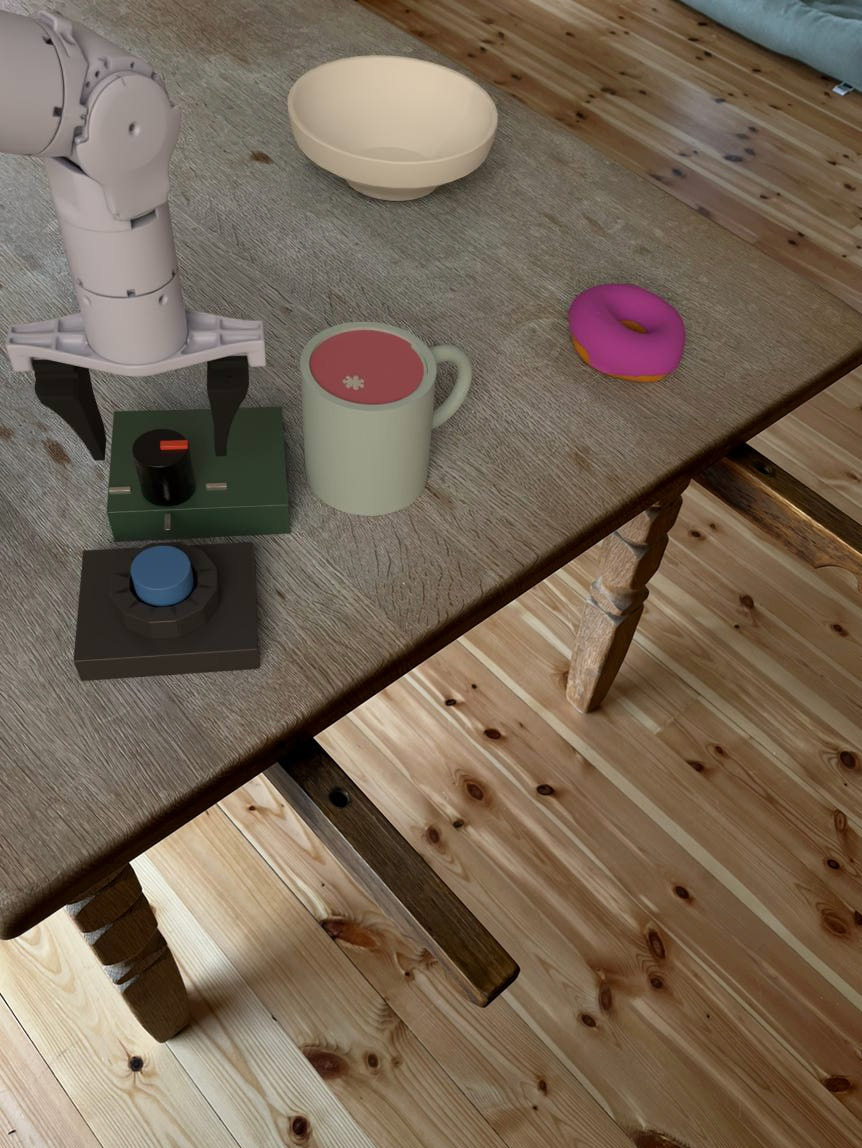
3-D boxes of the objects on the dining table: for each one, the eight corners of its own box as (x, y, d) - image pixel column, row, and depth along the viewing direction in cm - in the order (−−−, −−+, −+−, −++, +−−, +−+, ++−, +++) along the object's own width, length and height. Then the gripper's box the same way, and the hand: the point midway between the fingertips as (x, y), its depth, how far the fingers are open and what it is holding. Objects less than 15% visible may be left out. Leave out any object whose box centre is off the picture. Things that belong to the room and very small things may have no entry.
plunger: (134, 608, 64) (129, 591, 63) (136, 564, 67) (131, 546, 65) (193, 605, 65) (190, 587, 64) (194, 561, 67) (190, 543, 66)
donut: (674, 402, 87) (689, 358, 83) (554, 379, 87) (563, 334, 83) (681, 327, 93) (694, 283, 89) (569, 306, 93) (578, 261, 89)
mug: (347, 533, 75) (347, 428, 67) (282, 454, 79) (274, 346, 71) (499, 465, 80) (516, 361, 72) (431, 394, 84) (440, 288, 76)
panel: (113, 563, 71) (104, 532, 68) (121, 441, 78) (113, 409, 75) (291, 554, 73) (289, 523, 70) (284, 436, 80) (281, 404, 77)
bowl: (253, 154, 102) (247, 80, 97) (416, 109, 111) (420, 39, 105) (361, 258, 94) (362, 184, 88) (530, 202, 102) (540, 130, 97)
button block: (80, 681, 65) (66, 644, 62) (89, 571, 70) (77, 531, 67) (259, 669, 67) (255, 632, 64) (255, 562, 72) (251, 523, 69)
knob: (140, 508, 70) (130, 464, 67) (142, 470, 72) (132, 425, 69) (195, 506, 71) (187, 462, 67) (195, 468, 73) (188, 423, 69)
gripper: (256, 224, 61) (271, 403, 72) (-7, 224, 59) (50, 409, 69) (260, 299, 57) (275, 476, 68) (-23, 302, 54) (40, 485, 65)
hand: (161, 447), depth 68 cm, fingers open, 7 cm apart
